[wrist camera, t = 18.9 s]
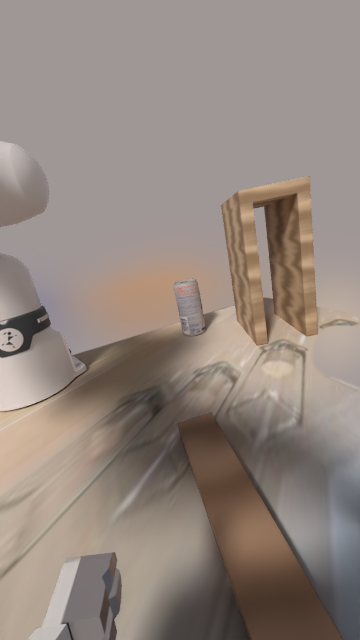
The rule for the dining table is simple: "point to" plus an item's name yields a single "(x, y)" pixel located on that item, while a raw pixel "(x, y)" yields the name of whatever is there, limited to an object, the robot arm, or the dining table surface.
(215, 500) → the walnut board
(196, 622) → the dining table surface
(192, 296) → the energy drink
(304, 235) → the oak arch
